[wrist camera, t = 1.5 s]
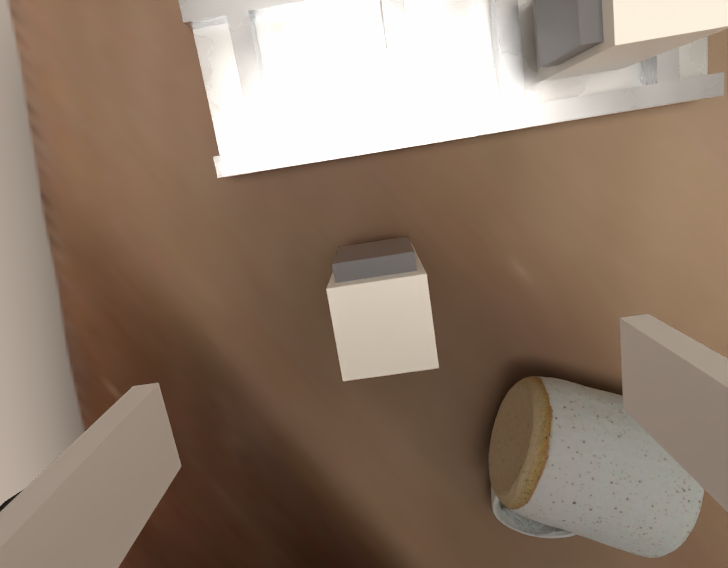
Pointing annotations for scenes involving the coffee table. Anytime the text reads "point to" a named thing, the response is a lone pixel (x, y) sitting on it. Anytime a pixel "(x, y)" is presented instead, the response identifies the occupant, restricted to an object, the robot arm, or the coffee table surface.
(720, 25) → the block
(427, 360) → the beige jaw block
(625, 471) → the ceramic mug
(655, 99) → the rail
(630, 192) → the coffee table surface
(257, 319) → the coffee table surface
